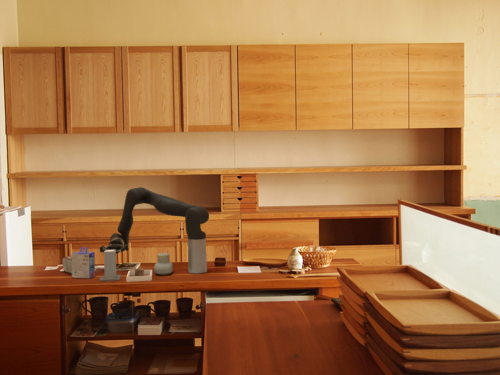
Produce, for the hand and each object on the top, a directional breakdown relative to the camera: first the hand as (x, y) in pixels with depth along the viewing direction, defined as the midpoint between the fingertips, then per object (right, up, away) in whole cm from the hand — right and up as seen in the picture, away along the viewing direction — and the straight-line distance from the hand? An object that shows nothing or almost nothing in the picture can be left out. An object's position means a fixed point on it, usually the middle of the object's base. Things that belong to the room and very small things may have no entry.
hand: (113, 250), depth 233 cm
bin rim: (+16, -12, -10) cm, 22 cm away
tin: (-22, -12, +2) cm, 25 cm away
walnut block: (+17, -12, -13) cm, 24 cm away
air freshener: (+26, -12, -2) cm, 29 cm away
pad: (+2, -12, -11) cm, 16 cm away
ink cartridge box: (-12, -12, -7) cm, 19 cm away
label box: (+2, -12, -11) cm, 16 cm away
